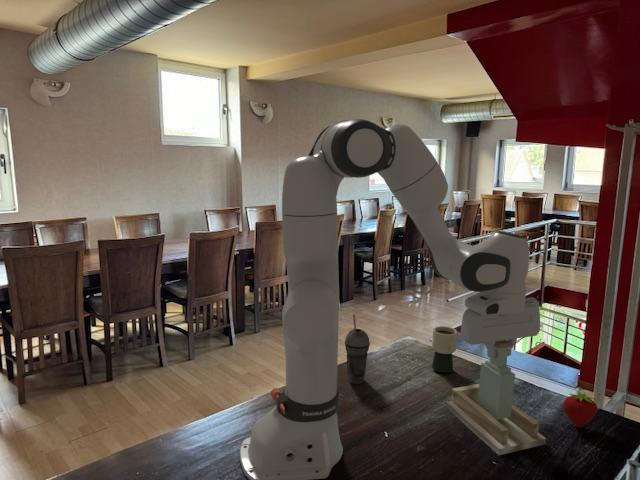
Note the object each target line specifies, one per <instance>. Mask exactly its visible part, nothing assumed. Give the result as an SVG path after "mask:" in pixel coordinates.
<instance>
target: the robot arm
mask: <svg viewBox="0 0 640 480" xmlns="http://www.w3.org/2000/svg"><path fill="white" fill-rule="evenodd" d="M376 173H377V174H378V175H379V177H381V178H382V179H383V181H384V182H385V184H386V186H387V187H388V189H389V190H390V191H391V193H392V195H393V196H394V197H395V199H396V200H397V202H398V203H399V205H400V206H401V207H402V208H403V209H404V210H405V212H406V214H407V215H408V216H409V218H410V219H411V221H412V223H413V225H414V227H415V228H416V230H417V232H418V233H419V235H420V237H421V238H422V240H423V242H424V244H425V245H426V247H427V250H428V254H429V259H430V265H431V268H432V270H433V271H434V273H435V274H436V275H437V276H438V277H440V278H443V279H444V280H446V281H447V280H448V281H451V282H452V283H454V284H456V285H458V286H460V287H461V288H464V289H465V290H468V291H471V292H474V293H475V294H473V295H471V296H468V297H467V298H465V300H464V307H466V309H465V310H464V312H463V314H462V317H461V324H460V325H461V326H460V337H461V339H462V340H464V341H465V342H466V343H468V344H469V345H471V346H473V345H481V344H484V345H485V347H486V356H487V358H489V359H490V358H491V359H492V358H497V352H498V351H496V350H494V348H493V346H492V345H495V341H502V340H507V341H508V342H510V343H511V345H510V347H508V355H507V357H510V356H511V355H512V349H513V348H514V347H515V345H516V344H517V339H523V338H530V337H531V338H532V337H536V336H538V335H539V333H540V332H541V331H540V330H541V313H540V301H539V300H537V299H536V298H535V297H528V298H526V296H527V287H526V279H527V276H528V274H529V267H530V266H529V265H530V245H529V241H528V239H527V238H526V237H525V236H523V235H520V234H517V233H513V232H508V231H503V230H495V231H493V232H492V234H491V235H490V236H489V237H487V238H486V239H485V240H483V241H481V242H480V243H477V244H474V245H471V244H468V243H467V242H464V241H462V240H460V239H458V238H456V237H455V236H454V235H453V234H452V233H451V231H450V230H449V228H448V226H447V224H446V222H445V220H444V219H443V217H442V215H441V213H440V211H439V206H441V204H443V202H444V201H445V199H446V197H447V194H448V190H449V184H448V181H447V178H446V176H445V173H444V171H443V169H442V167H441V166H440V165H439V162H438V161H437V159H436V158H435V156H434V155H433V153H432V152H431V151H430V149H429V147H428V146H427V145H426V144H425V142H424V141H423V140H422V139H421V138H420V136H418V134H417V133H416V132H415V131H414V130H413V129H412V128H411V127H410V126H408V125H406V124H400V123H399V124H393V125H390V126H388V127H386V128H384V127H382V126H379V125H377V124H376V123H374V122H372V121H370V120H367V119H363V118H362V119H361V118H360V119H359V118H356V119H347V120H340V121H337V122H336V123H332V124H330V125H329V126H327V127H325V128H323V130H322V131H321V132H320V133H319V135H317V138H316V140H315V142H314V144H313V146H312V148H311V149H310V152H309V154H308V155H305V156H300V157H297V158H294V160H292V161H290V162H289V163H288V164H287V165H286V168H285V171H284V177H283V185H282V192H281V193H282V194H281V199H282V200H281V216H282V220H281V221H282V241H283V254H284V258H285V259H284V261H285V264H286V265H285V267H286V271H287V272H286V273H287V280H288V282H287V284H288V288H287V289H288V291H287V297H286V299H285V302H284V305H283V308H282V310H281V311H282V312H281V317H282V318H281V320H282V322H281V323H282V337H283V346H284V354H285V388H284V389H283V391H282V392H281V391H280V389H279V388H278V387H273V388H272V389H271V391H270V396H271V397H272V399H273V400H274V401H276V406H275V407H273V408H272V409H271V410H269V411H268V412H267V413H265V414H264V415H263V416H261V417H260V418H259V419H257V420H256V421H255V423H254V424H253V426H252V429H251V434H250V437H247V438H245V439H244V440H243V441H242V442H241V445H240V447H239V448H240V449H239V461H240V466H241V469H242V472H243V474H244V475H245V476H246V477H247V479H248V480H319V479H327V478H328V477H329V475H330V473H331V472H332V468H333V467H334V466H336V464H337V463H338V462H339V461H340V460H341V458H342V457H343V456H342V455H343V452H344V448H343V445H342V441H341V438H340V436H341V435H340V433H339V432H340V431H339V430H340V429H339V425H338V423H339V422H338V415H339V408H340V395H339V394H340V393H339V389H338V358H339V349H338V348H339V314H340V313H339V311H340V280H339V273H340V271H339V242H338V241H339V240H338V239H339V237H338V236H339V233H338V231H339V230H338V201H337V200H338V199H337V196H338V190H339V187H340V184H341V182H342V181H343V180H344V178H347V179H348V178H349V179H350V178H353V179H354V178H358V179H359V178H366V177H369V176H372V175H374V174H376Z"/></svg>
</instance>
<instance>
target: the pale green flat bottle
mask: <svg viewBox="0 0 640 480" xmlns="http://www.w3.org/2000/svg"><path fill="white" fill-rule="evenodd" d="M510 345H511V343H510V342H508V341H507V340H502V341H495V345H492V346H493V348H494V350H496V351H498V352H497V358H492V359H491V358H489V360H485V362H481V363H480V371H479V372H480V373H479V374H480V375H479V383H478V384H479V394H478V405H479V406H481V407H482V408H483V409H484V410H485V411H487V412H488V413H489V414H490V415H492V416H493V417H494V418H495V419H497V420H498V419H503V418H508V417H511V410H512V404H513V400H514V399H513V398H514V389H515V379H516V373H514V372H513V371H512V368H511V367H510V366H508V356H507V355H508V347H510Z"/></svg>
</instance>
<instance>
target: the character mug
mask: <svg viewBox="0 0 640 480" xmlns="http://www.w3.org/2000/svg"><path fill="white" fill-rule="evenodd" d="M457 340H458V330H457V329H456V328H453V327H451V326H444V325H440V326H439V325H438V326H435V327H433V331H432V343H431V348H432V351H434V353H433V354H434V355H433V360H432V363H431V364H432V365H431V367H432V369H433V371H435V372H439V373H452V372H453V371H454V362H453V361H454V360H453V354H454V353H455V352H456V350H457Z"/></svg>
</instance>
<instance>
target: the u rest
mask: <svg viewBox="0 0 640 480" xmlns="http://www.w3.org/2000/svg"><path fill="white" fill-rule="evenodd" d="M478 394H479V383H475V384H470V385H464V386H460V387H452V389H451V395H450V398H451V399H450V400H448V401H446V402H445V408H446V409H447V410H448V411H450V412H451V414H453V415H454V416H455V417H456V418H457V419H458V420H459V421H460V422H461V423H463V424H464V425H465V426H466V428H468V429H469V430H470V431H471V432H472V433H473V434H474V435H476V436H477V437H478V438H479V439H480V440H481V441H482V442H483V443H484V444H486V445H487V446H488V447H489V448H490V449H491V450H492V451H493V452H495V454H496V455H497V456H502V455H506V454H510V453H514V452H520V451H523V450H526V449H530V448H531V449H532V448H536V447H541V446H544V445H546V441H547V438H546V437H545V436H544V435H542V434H541V433H540V432H539V427H540V422H538V421H537V420H536V419H534V418H533V417H532V416H530V415H529V414H527V413H526V412H525V411H523V410H522V409H520V408H519V407H517V405H515V404H513V403H512V410H511V417H508V418H503V419H498V420H497V419H495V418H494V417H493V416H492V415H490V414H489V413H488V412H487V411H485V410H484V409H483V408H482V407H481V406H479V405H478Z"/></svg>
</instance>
